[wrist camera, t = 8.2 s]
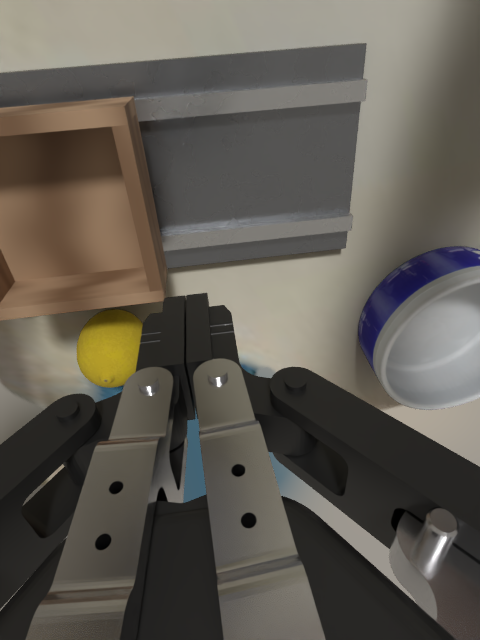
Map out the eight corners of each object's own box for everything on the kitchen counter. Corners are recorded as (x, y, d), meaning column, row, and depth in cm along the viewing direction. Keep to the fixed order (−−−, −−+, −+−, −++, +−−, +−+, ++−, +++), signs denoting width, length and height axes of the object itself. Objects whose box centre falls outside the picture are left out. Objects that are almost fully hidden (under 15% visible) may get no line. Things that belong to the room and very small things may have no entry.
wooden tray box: (136, 92, 24) (124, 106, 19) (168, 257, 30) (165, 300, 25) (-52, 109, 23) (-119, 127, 18) (21, 273, 29) (-13, 321, 24)
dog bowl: (532, 239, 36) (587, 270, 31) (473, 365, 45) (509, 404, 40) (373, 247, 34) (404, 280, 29) (344, 375, 43) (365, 417, 38)
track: (360, 43, 25) (382, 43, 23) (341, 243, 33) (355, 261, 31) (-90, 80, 24) (-126, 84, 21) (6, 280, 32) (-11, 303, 29)
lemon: (74, 306, 34) (49, 368, 27) (132, 283, 33) (119, 341, 27) (109, 350, 37) (94, 415, 31) (162, 330, 36) (157, 392, 30)
